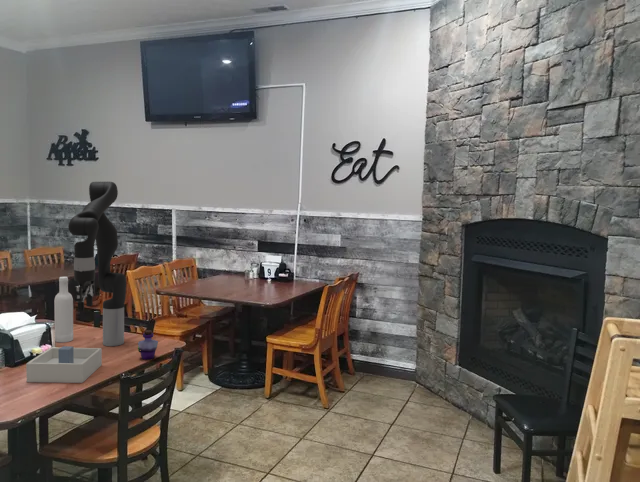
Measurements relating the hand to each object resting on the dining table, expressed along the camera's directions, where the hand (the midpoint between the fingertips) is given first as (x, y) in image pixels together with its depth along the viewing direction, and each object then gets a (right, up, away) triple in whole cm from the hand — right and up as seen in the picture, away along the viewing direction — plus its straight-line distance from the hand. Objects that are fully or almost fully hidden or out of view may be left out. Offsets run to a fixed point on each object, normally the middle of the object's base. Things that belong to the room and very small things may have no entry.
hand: (85, 308), depth 206 cm
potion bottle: (+19, -24, +18) cm, 35 cm away
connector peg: (-6, -25, -4) cm, 25 cm away
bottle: (-27, -20, +38) cm, 51 cm away
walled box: (-6, -24, -4) cm, 25 cm away
